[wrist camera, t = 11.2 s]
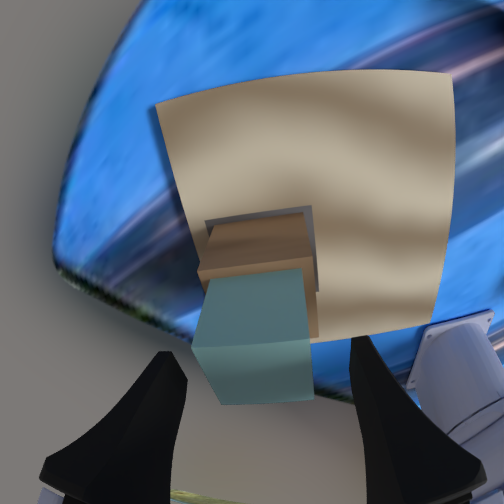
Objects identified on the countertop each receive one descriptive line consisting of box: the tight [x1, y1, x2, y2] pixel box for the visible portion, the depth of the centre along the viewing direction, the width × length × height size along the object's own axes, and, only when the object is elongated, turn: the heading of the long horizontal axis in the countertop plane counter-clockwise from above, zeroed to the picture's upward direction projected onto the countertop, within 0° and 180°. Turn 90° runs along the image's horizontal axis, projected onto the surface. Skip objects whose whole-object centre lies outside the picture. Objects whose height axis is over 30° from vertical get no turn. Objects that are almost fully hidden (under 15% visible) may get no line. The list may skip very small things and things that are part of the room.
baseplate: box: [155, 70, 455, 343], centre depth 17 cm, size 18×16×1 cm
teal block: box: [191, 268, 314, 405], centre depth 12 cm, size 4×4×4 cm
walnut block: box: [197, 212, 319, 338], centre depth 16 cm, size 5×5×4 cm
